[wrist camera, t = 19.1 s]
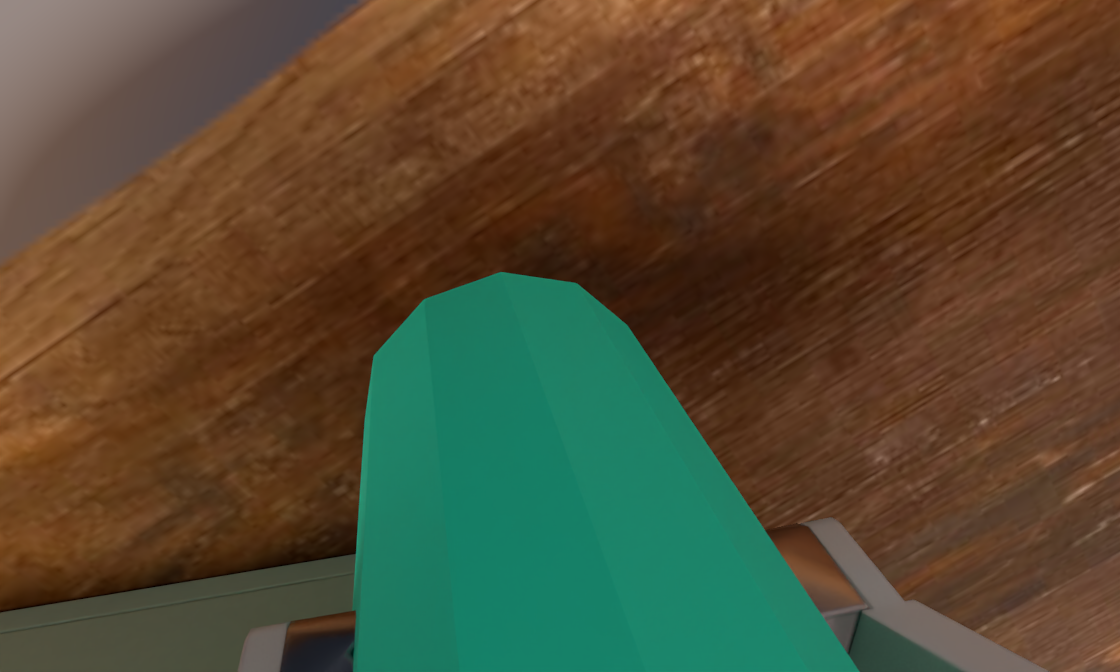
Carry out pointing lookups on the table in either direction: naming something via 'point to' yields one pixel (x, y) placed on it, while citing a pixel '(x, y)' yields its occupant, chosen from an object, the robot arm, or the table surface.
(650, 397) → the candle
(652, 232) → the table surface
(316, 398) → the table surface
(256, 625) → the chest
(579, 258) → the table surface
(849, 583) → the robot arm
